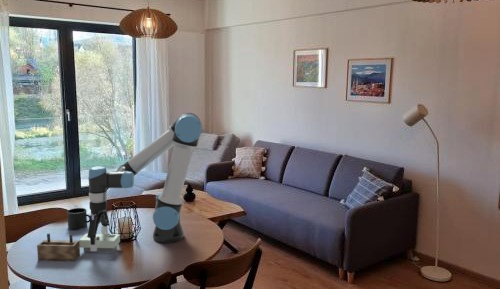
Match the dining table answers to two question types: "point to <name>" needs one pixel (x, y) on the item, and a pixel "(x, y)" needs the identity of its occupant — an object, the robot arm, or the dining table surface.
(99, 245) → the cream rectangular block
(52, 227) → the dining table surface
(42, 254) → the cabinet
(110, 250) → the pad
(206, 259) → the dining table surface
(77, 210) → the mug
